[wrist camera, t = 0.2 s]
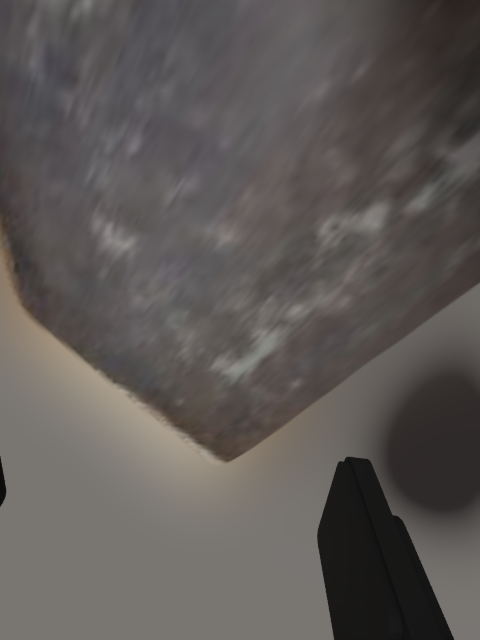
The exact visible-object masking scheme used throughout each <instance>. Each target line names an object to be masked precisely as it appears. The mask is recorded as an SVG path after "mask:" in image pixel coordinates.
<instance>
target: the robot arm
mask: <svg viewBox="0 0 480 640" xmlns="http://www.w3.org/2000/svg"><path fill="white" fill-rule="evenodd" d="M5 496H6V486H5V480H4V474H3V469H2V463H1V458H0V506H1V505H2V503H3V501H4V499H5ZM317 539H318V548H319V553H320V559H321V565H322V571H323V577H324V582H325V588H326V594H327V600H328V605H329V612H330V617H331V623H332V629H333V635H334V640H454V638H453V636H452V634H451V631H450V629H449V627H448V624H447V622H446V620H445V617H444V615H443V613H442V610H441V608H440V606H439V603H438V601H437V599H436V596H435V594H434V592H433V589H432V587H431V585H430V582H429V580H428V578H427V575H426V573H425V571H424V568H423V566H422V564H421V561H420V560H419V557H418V554H417V552H416V550H415V547H414V545H413V543H412V540H411V538H410V536H409V533H408V531H407V529H406V527H405V525H404V523H403V521H402V520H401V519H400V518H399V517H398V516H393V515H392V513H391V511H390V508H389V506H388V503H387V501H386V498H385V496H384V493H383V491H382V488H381V486H380V483H379V481H378V478H377V476H376V473H375V471H374V469H373V466H372V464H371V462H370V461H369V460H368V459H362V458H355V457H346V458H345V461H344V462H341V461H340V462H339V463H338V465H337V468H336V471H335V475H334V478H333V481H332V485H331V488H330V491H329V494H328V498H327V501H326V505H325V508H324V511H323V514H322V518H321V521H320V524H319V528H318V535H317Z"/></svg>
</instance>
